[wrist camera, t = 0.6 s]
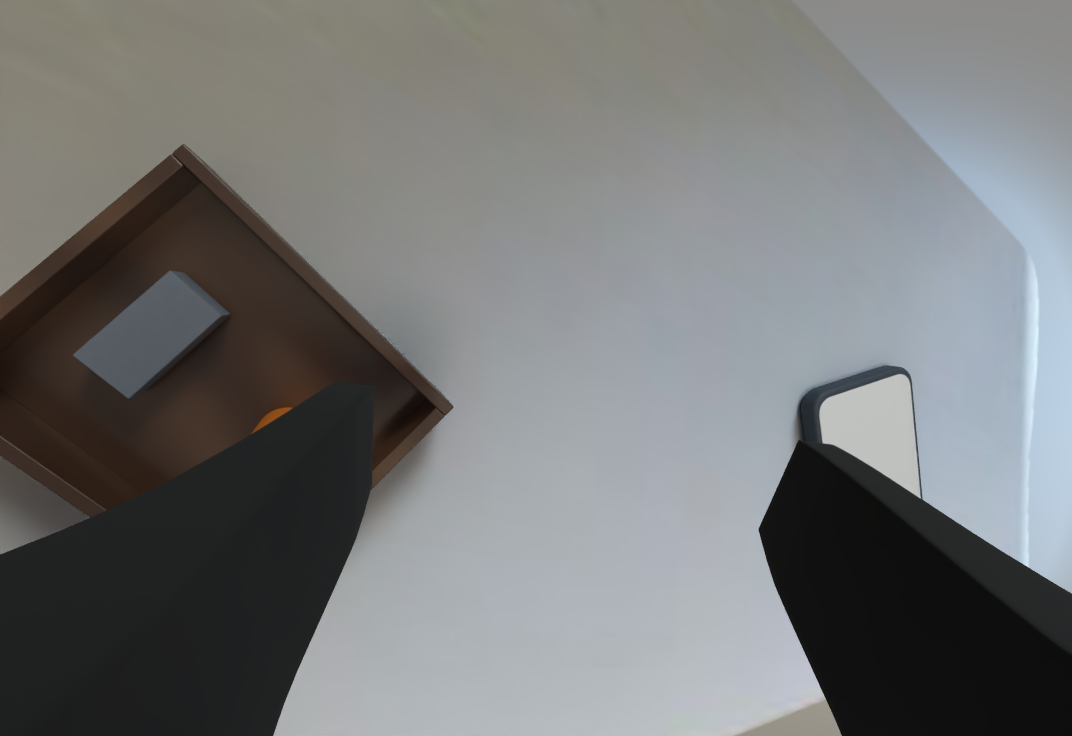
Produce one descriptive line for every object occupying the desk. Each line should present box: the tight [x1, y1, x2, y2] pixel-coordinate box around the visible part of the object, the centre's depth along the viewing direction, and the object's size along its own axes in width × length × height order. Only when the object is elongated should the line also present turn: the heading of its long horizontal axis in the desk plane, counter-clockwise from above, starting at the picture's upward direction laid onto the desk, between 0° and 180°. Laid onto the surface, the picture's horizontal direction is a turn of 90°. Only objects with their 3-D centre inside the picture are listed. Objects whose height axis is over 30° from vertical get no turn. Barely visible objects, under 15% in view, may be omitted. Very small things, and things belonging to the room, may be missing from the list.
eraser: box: [73, 271, 231, 399], centre depth 24 cm, size 5×3×2 cm, turn 132°
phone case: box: [801, 366, 922, 499], centre depth 39 cm, size 9×2×16 cm
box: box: [0, 144, 453, 517], centre depth 25 cm, size 13×15×4 cm
